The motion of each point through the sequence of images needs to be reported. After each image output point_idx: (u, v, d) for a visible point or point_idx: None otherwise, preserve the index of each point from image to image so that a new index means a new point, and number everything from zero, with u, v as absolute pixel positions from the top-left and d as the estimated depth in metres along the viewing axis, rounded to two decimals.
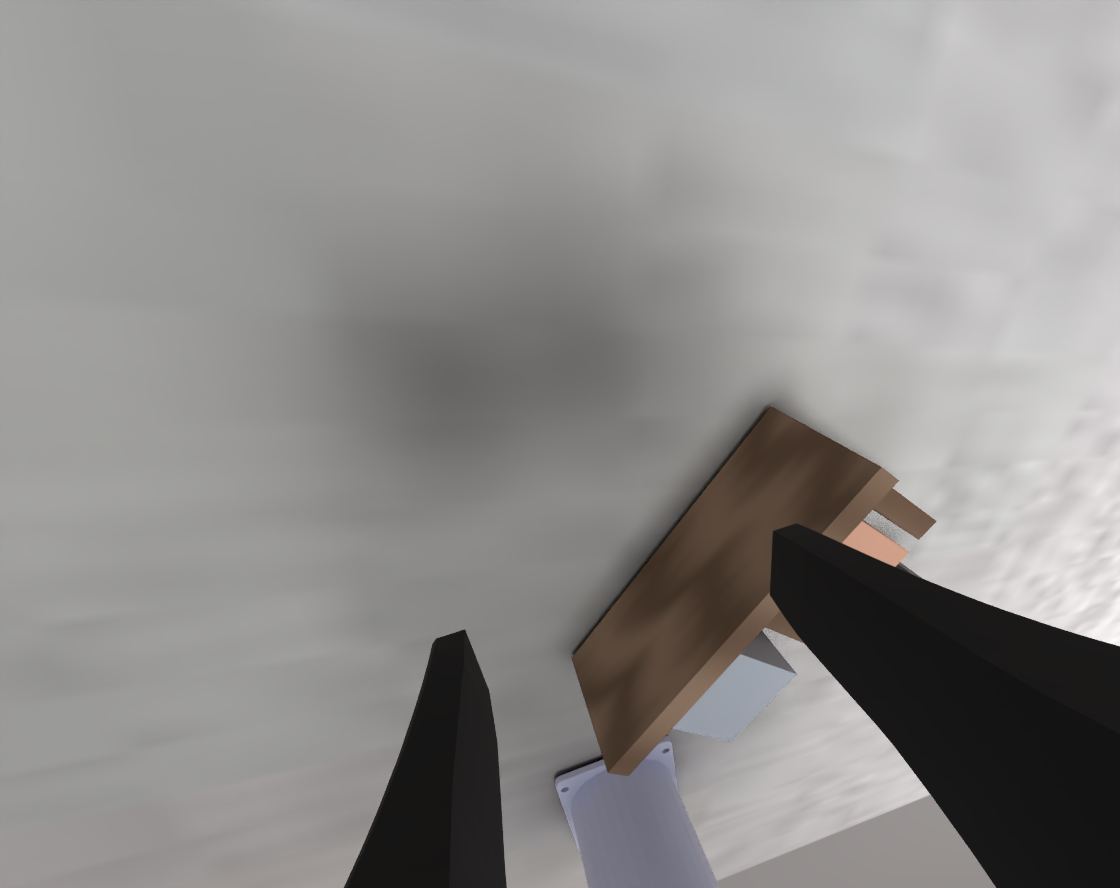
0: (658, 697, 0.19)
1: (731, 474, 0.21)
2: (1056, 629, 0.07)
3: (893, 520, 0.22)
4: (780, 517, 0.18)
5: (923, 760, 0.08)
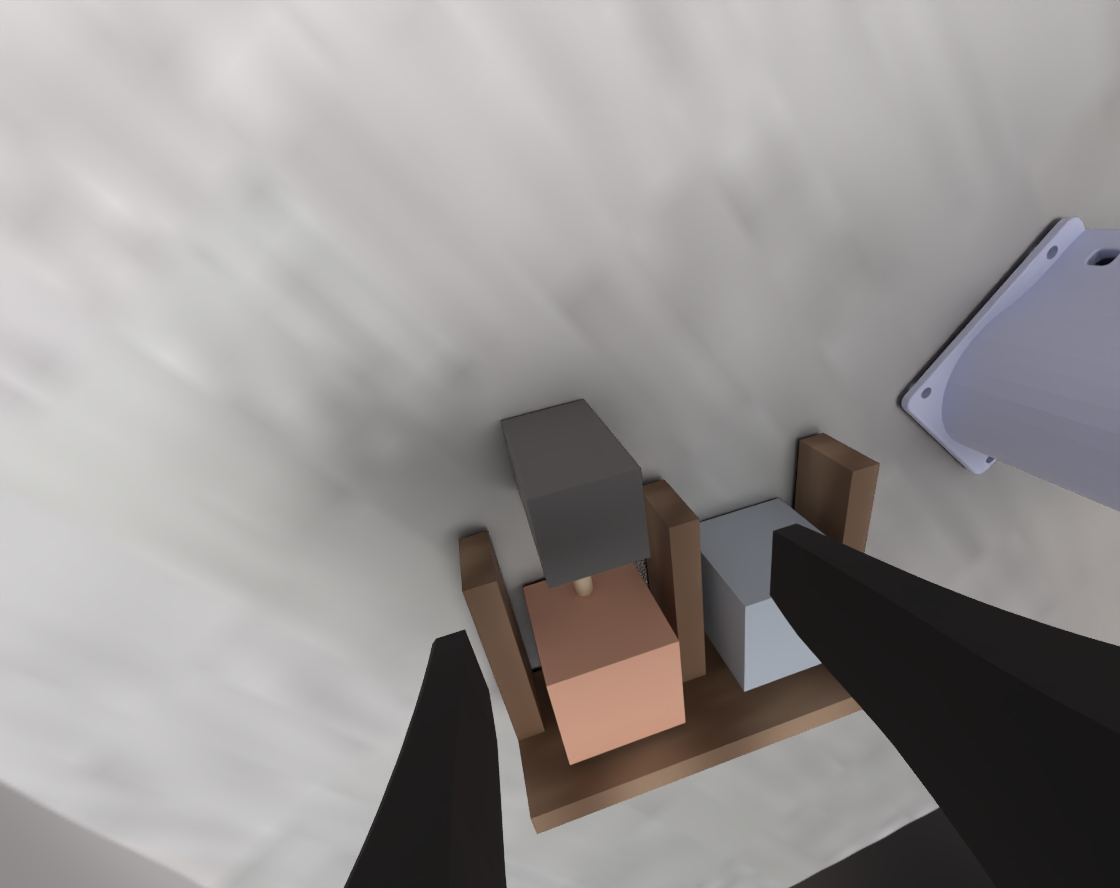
0: None
1: None
2: (1056, 629, 0.07)
3: (511, 632, 0.17)
4: None
5: (923, 760, 0.08)
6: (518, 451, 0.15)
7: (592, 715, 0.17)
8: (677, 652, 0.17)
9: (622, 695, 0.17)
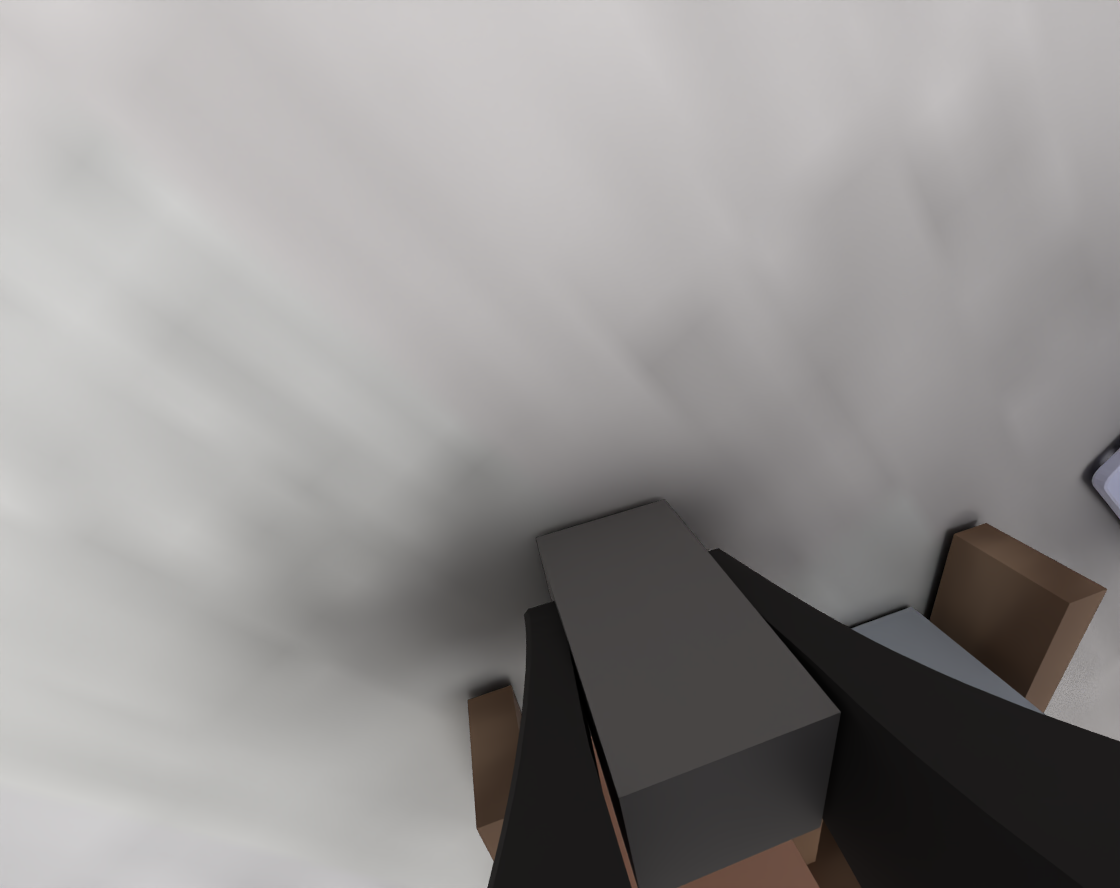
0: None
1: None
2: (942, 673, 0.06)
3: None
4: None
5: None
6: (577, 622, 0.08)
7: None
8: None
9: None
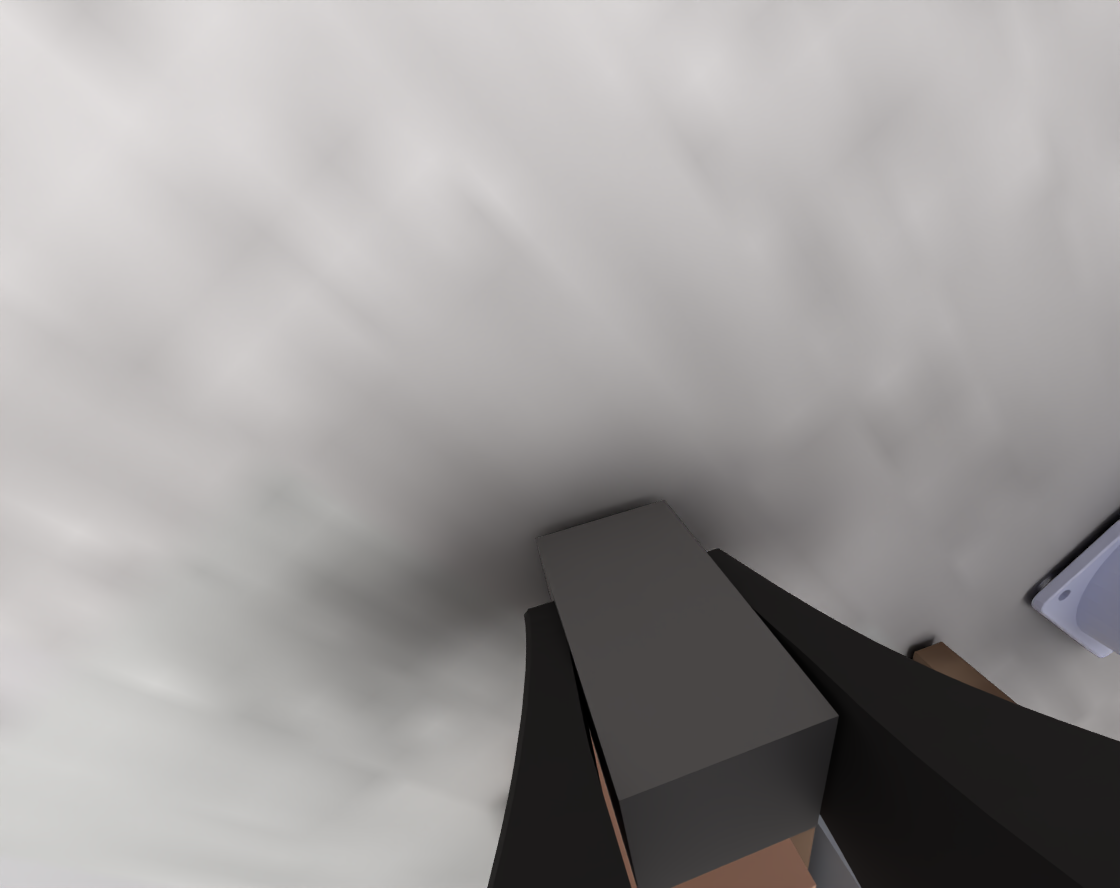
0: None
1: None
2: None
3: None
4: None
5: (824, 801, 0.08)
6: (577, 624, 0.08)
7: None
8: None
9: None
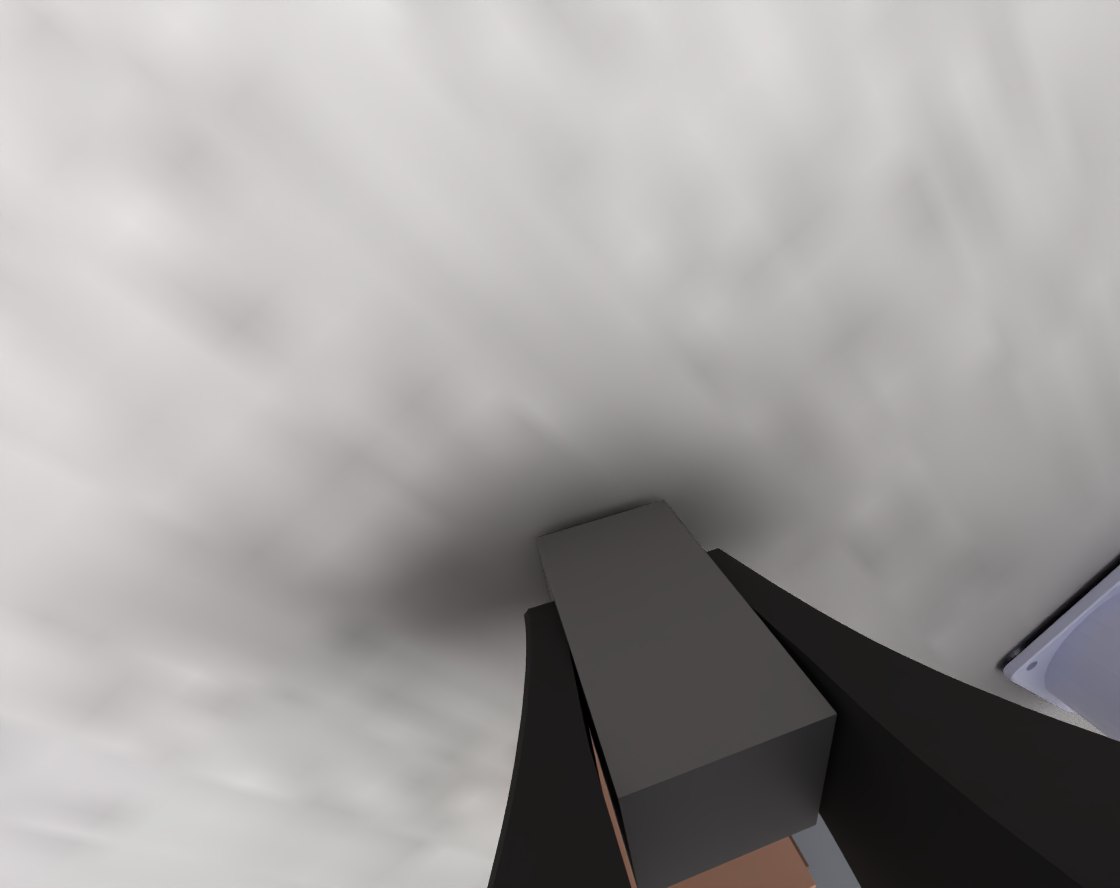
0: None
1: None
2: None
3: None
4: None
5: (824, 801, 0.08)
6: (577, 624, 0.08)
7: None
8: None
9: None
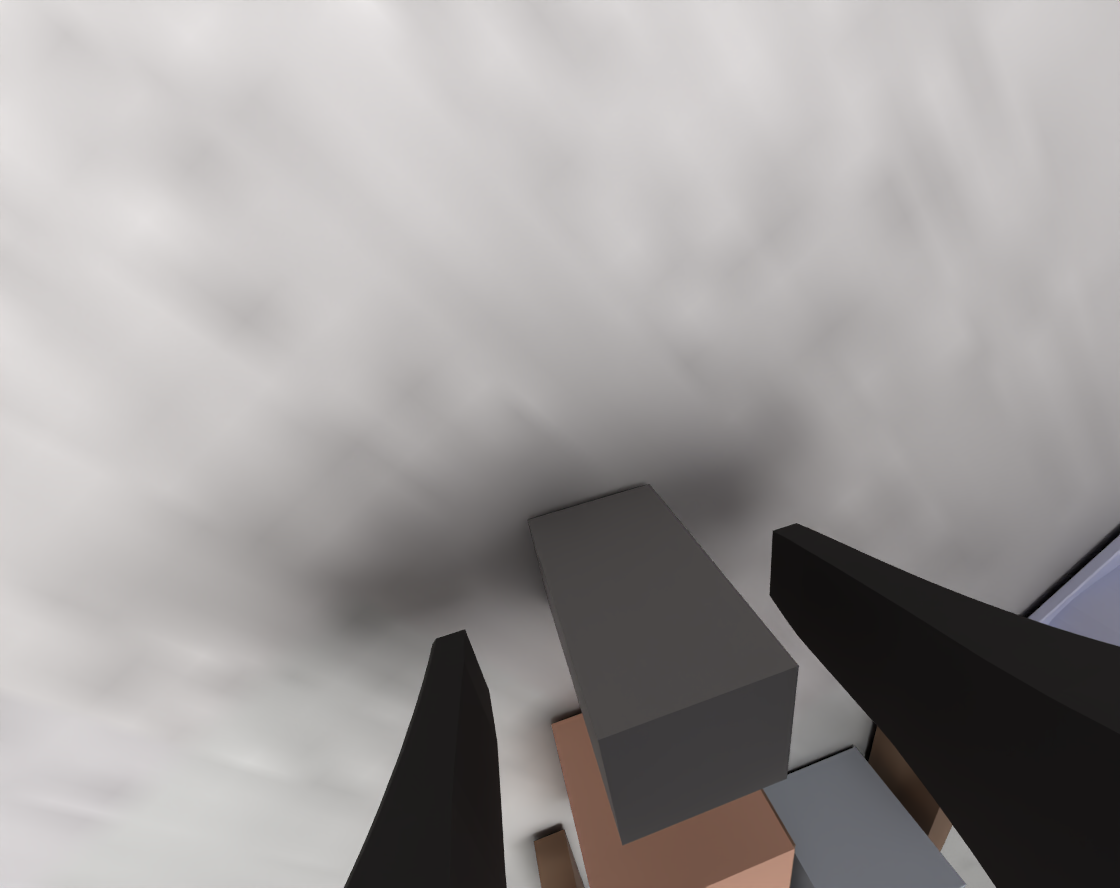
0: None
1: None
2: (1056, 629, 0.07)
3: None
4: None
5: (923, 760, 0.08)
6: (565, 593, 0.09)
7: None
8: (789, 860, 0.12)
9: None
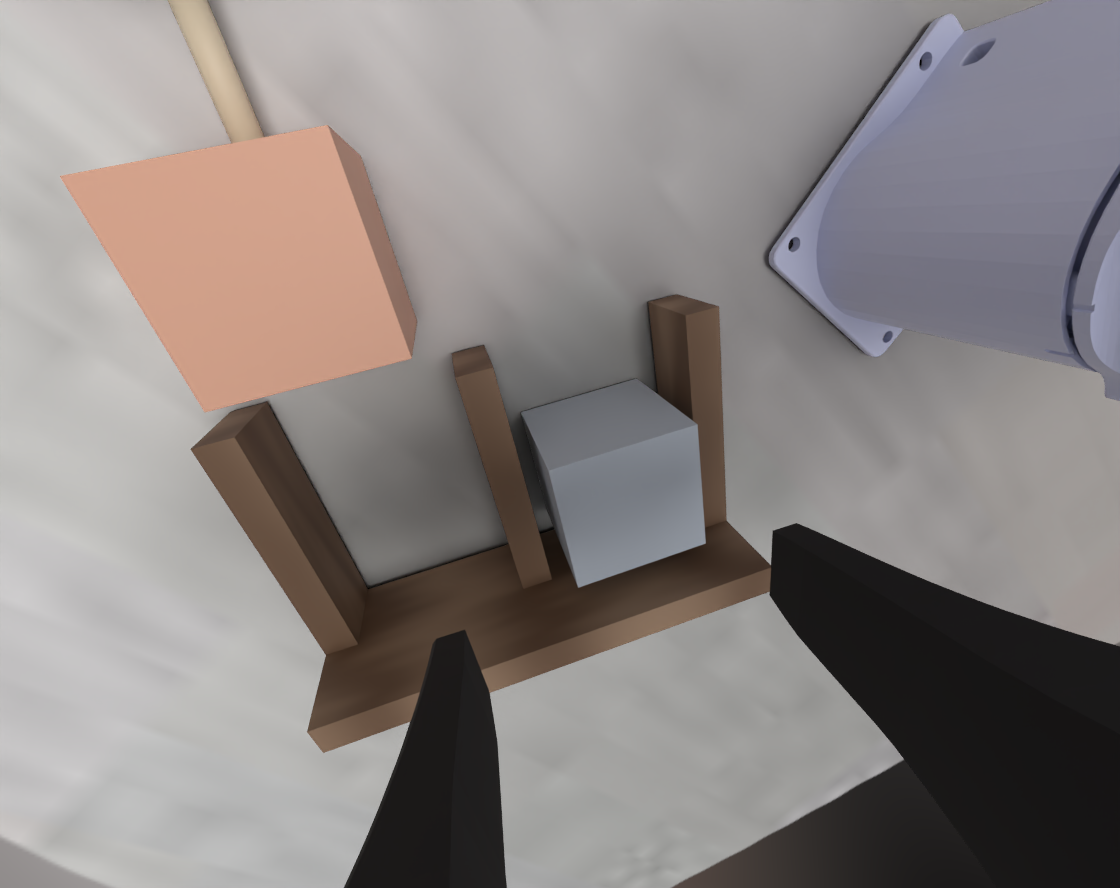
0: None
1: None
2: (1056, 629, 0.07)
3: (275, 510, 0.15)
4: None
5: (923, 760, 0.08)
6: None
7: (205, 291, 0.10)
8: (334, 158, 0.10)
9: (250, 248, 0.10)
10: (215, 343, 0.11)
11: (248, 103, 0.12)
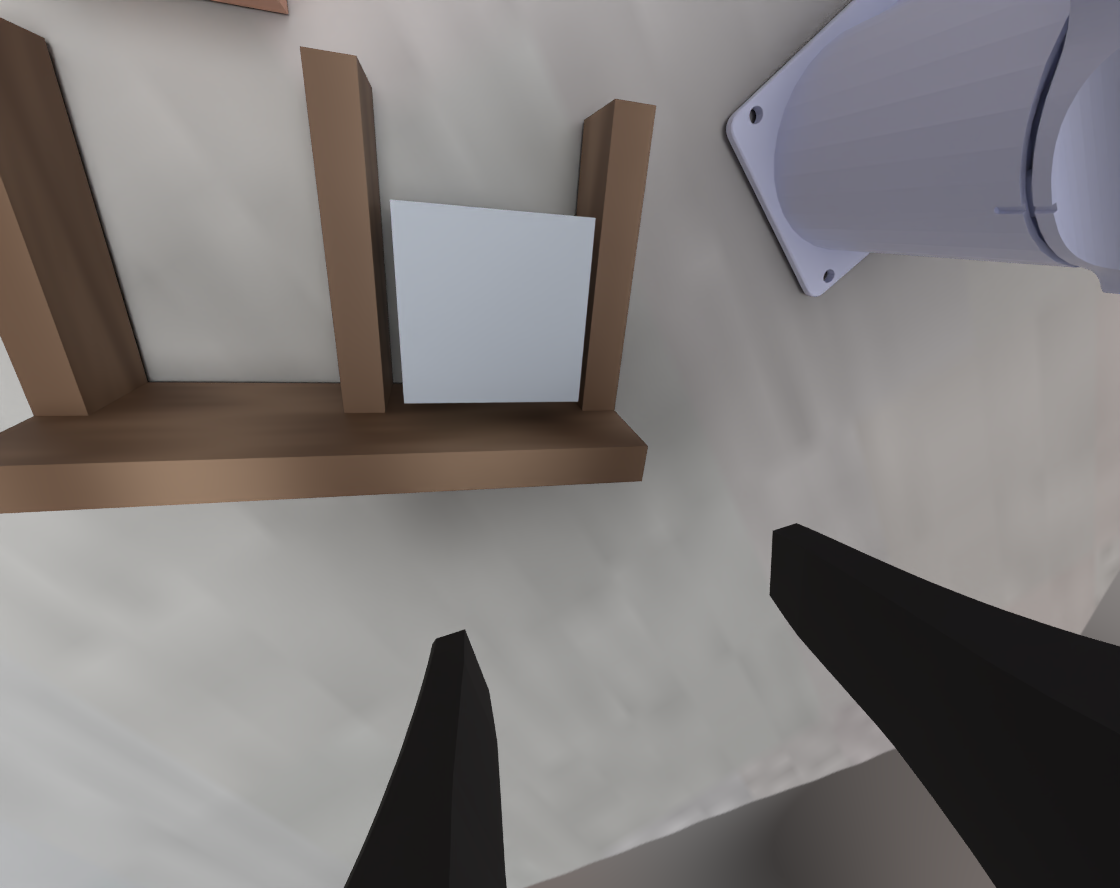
0: None
1: None
2: (1056, 629, 0.07)
3: None
4: None
5: (923, 760, 0.08)
6: None
7: None
8: None
9: None
10: None
11: None
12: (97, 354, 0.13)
